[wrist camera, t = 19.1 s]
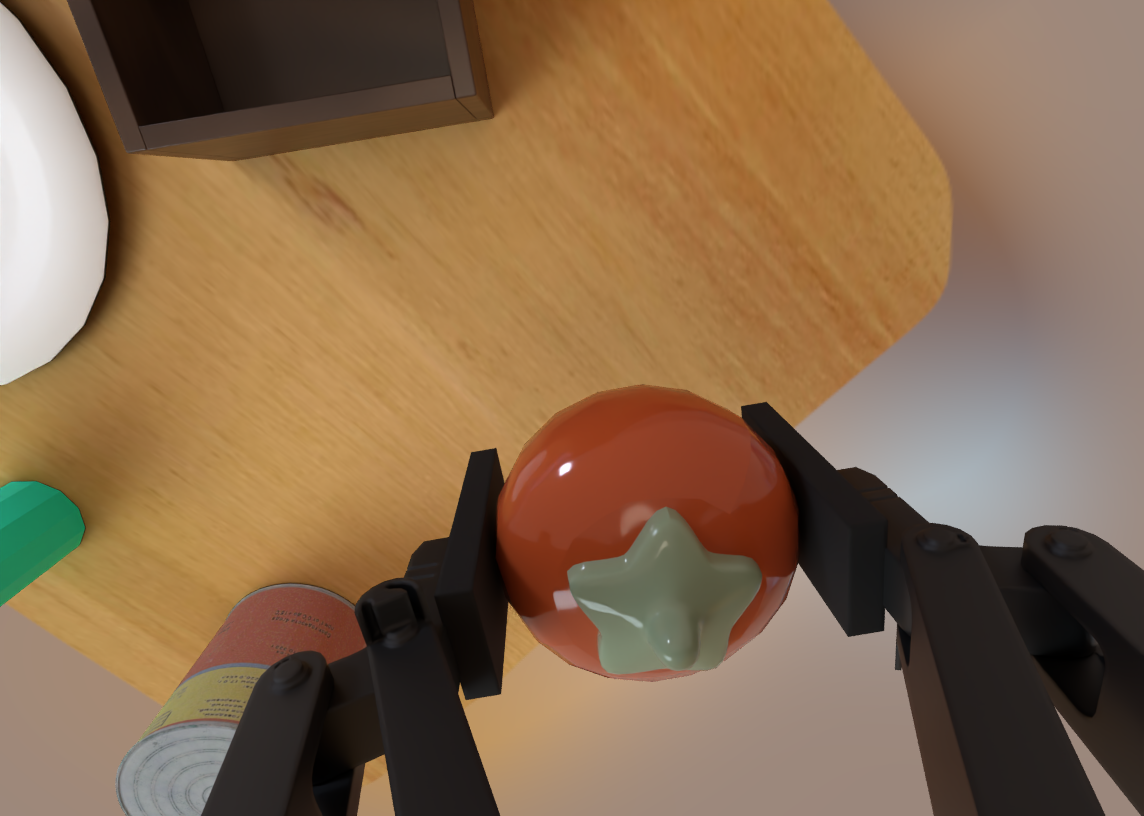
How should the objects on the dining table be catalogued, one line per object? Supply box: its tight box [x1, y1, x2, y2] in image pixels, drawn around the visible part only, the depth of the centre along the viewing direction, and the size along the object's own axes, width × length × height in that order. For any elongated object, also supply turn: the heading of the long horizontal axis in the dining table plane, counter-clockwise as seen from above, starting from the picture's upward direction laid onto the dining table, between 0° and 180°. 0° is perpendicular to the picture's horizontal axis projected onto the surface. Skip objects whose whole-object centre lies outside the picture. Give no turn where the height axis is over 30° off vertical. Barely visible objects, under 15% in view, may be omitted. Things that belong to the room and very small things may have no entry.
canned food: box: [116, 584, 367, 816], centre depth 39 cm, size 11×11×12 cm
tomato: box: [493, 384, 800, 682], centre depth 14 cm, size 7×7×8 cm
